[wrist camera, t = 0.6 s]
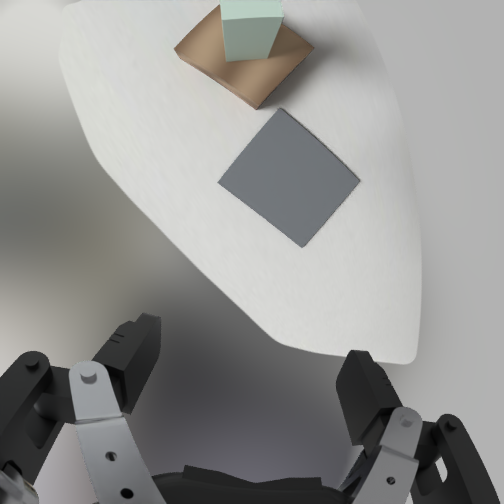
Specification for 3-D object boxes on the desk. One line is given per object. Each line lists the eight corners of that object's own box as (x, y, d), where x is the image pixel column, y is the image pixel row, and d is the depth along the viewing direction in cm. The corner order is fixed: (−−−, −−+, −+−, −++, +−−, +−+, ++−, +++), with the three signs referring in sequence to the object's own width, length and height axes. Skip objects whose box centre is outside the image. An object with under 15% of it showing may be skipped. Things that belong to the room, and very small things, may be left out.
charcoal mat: (217, 182, 33) (217, 182, 32) (279, 108, 30) (279, 107, 29) (301, 247, 37) (302, 248, 36) (358, 180, 34) (359, 181, 33)
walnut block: (180, 58, 26) (173, 48, 23) (231, 8, 24) (231, -6, 20) (256, 110, 30) (258, 105, 26) (305, 57, 27) (314, 47, 23)
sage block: (226, 62, 24) (222, 20, 14) (222, 30, 22) (217, -20, 12) (267, 58, 24) (283, 17, 14) (262, 27, 22) (275, -23, 12)
